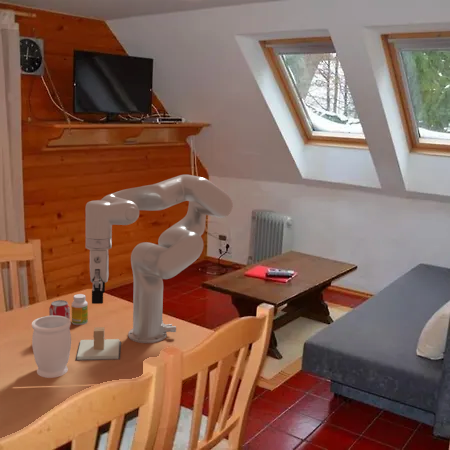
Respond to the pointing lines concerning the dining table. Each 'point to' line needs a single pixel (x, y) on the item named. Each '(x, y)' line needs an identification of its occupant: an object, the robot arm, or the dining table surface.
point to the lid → (98, 347)
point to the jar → (51, 345)
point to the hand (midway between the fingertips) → (98, 297)
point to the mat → (101, 359)
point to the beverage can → (60, 309)
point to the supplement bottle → (79, 310)
